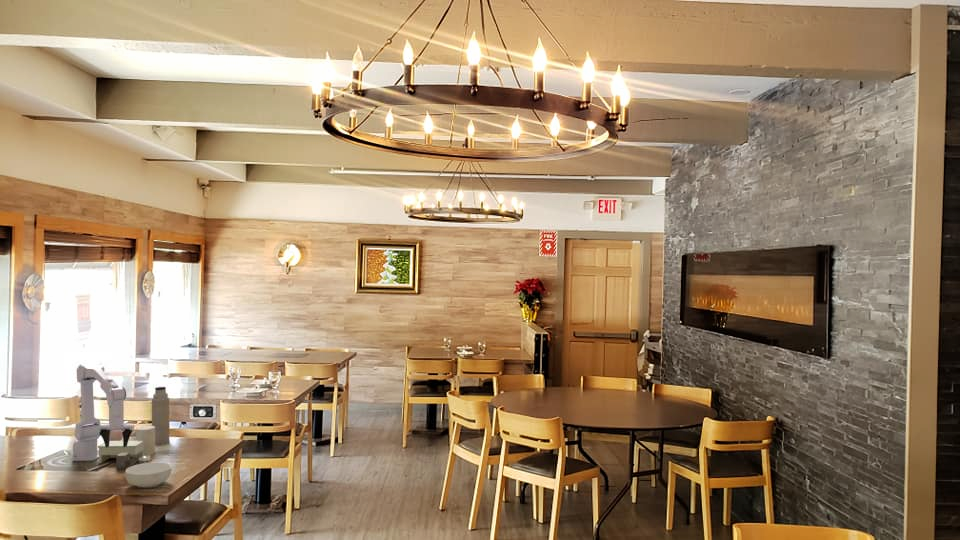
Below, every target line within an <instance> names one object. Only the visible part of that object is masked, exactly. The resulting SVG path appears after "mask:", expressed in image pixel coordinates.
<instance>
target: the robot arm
mask: <svg viewBox="0 0 960 540" xmlns="http://www.w3.org/2000/svg"><path fill="white" fill-rule="evenodd" d="M96 381H97V382H99V383H100V384H99V385H100V388H101V390H102V391H103V393H105V398H106V401H107V406H108V424H101V420H99V419H97V418H96V417H95V404H94V403H95V402H94V401H95V400H94V383H95V382H96ZM76 382H77V383H80V401H81V419H80V420H78V422H76V423H75V429H74V437H75V440H74V441H73V443H72V444H73V445H72V460H71V461H72V462H86V461H87V462H88V461H89V462H91V461H92V462H93V461H95V460H97V459H99V454H98V439H99V438H100V437H101V439H102V440H103V442H104V443H105V447H108V446H109V436H110V430H122V434H123V437H122V439H123V440H122V441H123V447H126V446H127V444H128V441H130V440H129V439H130V437H131V435H132V433H133V431H134V430H135V424H125V423H124V414H125V413H124V412H125V410H124V409H125V408H124V406H125V405H124V401H125V400H126V398H127V391H126V388H125V387H124V386H119V385H118V384H117V383H116V382H115V381H114V379H113V378H111V377H110V378H109V377H108V376H107V374H106V373H105V365H104V364H103V363H102V362H95V363H86V364H85V363H84V364H79V365H78V366H77V368H76Z"/></svg>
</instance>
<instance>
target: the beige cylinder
mask: <svg viewBox="0 0 960 540" xmlns="http://www.w3.org/2000/svg"><path fill="white" fill-rule="evenodd" d="M135 438H136V439H135V441H145V442H144V455H148V454H150V455H153V454H155V453H156V445H155V426H152V425H145V426H144V425H142V426H138V427H136V428H135ZM152 453H153V454H152Z"/></svg>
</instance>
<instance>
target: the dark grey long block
mask: <svg viewBox="0 0 960 540" xmlns="http://www.w3.org/2000/svg"><path fill="white" fill-rule="evenodd" d="M137 460H138V457H132V458H130V453H120V454H119V455H117V458H116V470H126V469H127V467H128V466H129V467H131V466H132V465H133V464H135V463H136V462H138V461H137ZM135 461H136V462H135ZM134 462H135V463H134ZM132 463H133V464H132ZM131 464H132V465H131ZM129 467H128V468H129Z"/></svg>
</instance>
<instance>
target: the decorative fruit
mask: <svg viewBox="0 0 960 540" xmlns="http://www.w3.org/2000/svg"><path fill="white" fill-rule="evenodd" d="M122 432H123V430H110V436H109V441H122V439H123V434H122Z"/></svg>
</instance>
